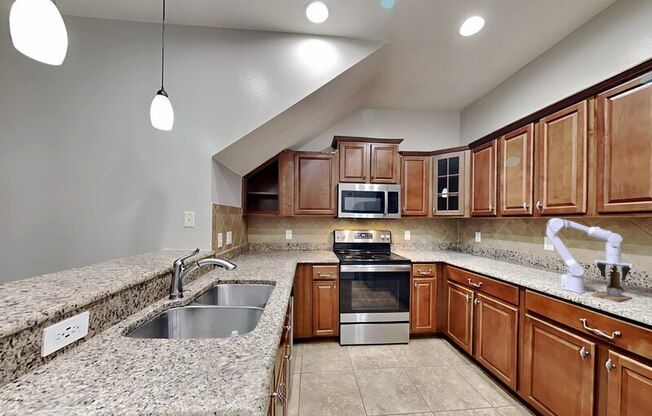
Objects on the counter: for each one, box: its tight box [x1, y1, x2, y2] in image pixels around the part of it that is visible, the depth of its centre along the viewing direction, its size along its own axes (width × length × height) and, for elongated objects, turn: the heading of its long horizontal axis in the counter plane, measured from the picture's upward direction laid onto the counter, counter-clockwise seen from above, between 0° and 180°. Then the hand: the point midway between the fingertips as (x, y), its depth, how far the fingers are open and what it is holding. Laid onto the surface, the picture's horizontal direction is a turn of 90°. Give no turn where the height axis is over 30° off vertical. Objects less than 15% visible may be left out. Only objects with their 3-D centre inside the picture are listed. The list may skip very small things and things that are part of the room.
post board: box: [590, 289, 633, 303], centre depth 141 cm, size 11×14×5 cm
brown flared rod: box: [606, 264, 625, 293], centre depth 153 cm, size 7×6×18 cm
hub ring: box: [606, 287, 623, 297], centre depth 140 cm, size 5×5×4 cm
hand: (613, 278), depth 144 cm, fingers open, 7 cm apart
